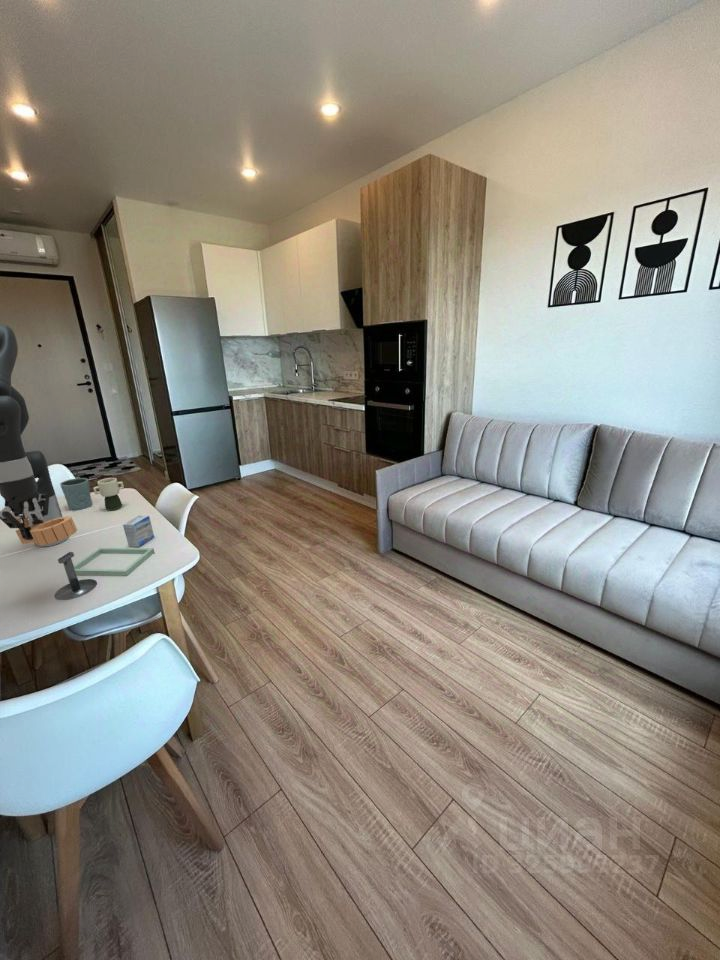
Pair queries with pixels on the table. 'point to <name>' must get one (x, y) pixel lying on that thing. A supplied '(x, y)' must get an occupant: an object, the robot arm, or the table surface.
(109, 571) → the green rhombus frame
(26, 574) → the table surface
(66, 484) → the teal pot
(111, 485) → the character mug
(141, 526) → the medicine box
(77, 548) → the table surface
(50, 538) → the ring
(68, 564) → the metal post stand
